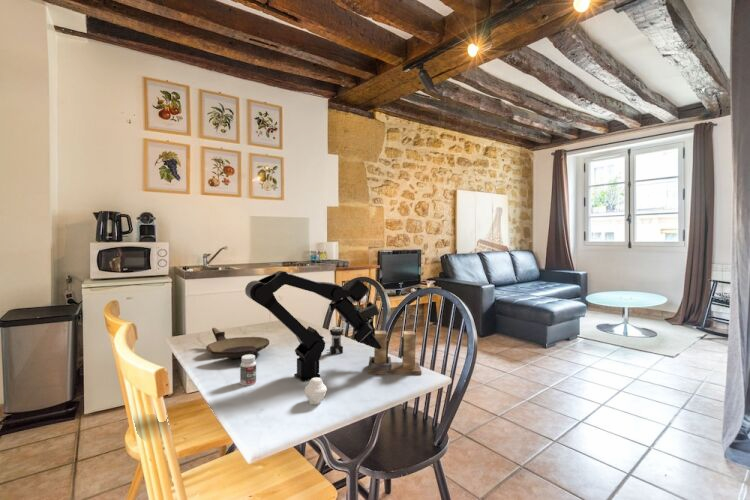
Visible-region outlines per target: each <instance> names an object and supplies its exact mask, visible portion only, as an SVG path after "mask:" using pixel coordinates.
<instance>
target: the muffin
mask: <svg viewBox="0 0 750 500" xmlns="http://www.w3.org/2000/svg"><path fill="white" fill-rule="evenodd" d="M308 381H309V382H308V384H307V385H306V386H305V388H304V393H305V394H304V395H305V396H306V399H307V400H308V402H309V404H311V405H313V406H315V405H320V404H321V403H322V401H323V400H324V398H325V395H326V393H327V391H328V388H327V386H326V384H324V382H323V379H322V378H320V377H318V378H317V377H315V378H312V379H311V380H308Z"/></svg>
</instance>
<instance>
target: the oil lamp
mask: <svg viewBox="0 0 750 500" xmlns="http://www.w3.org/2000/svg"><path fill="white" fill-rule="evenodd" d="M211 328H212V329H211V330H212V333H213V335H214V339H215V340H216V341H214V342H212V343H209V344H208V345H206V351H207V352H210V355H214V356H217V357H221V358H227V359H239V358H242V356H244V355H249V354H251V355H254V354H257V353H258V352H260V351H262V350H264V349H265V348H266V347H268V346H269V345H270V340H269V339H268V337H267V338H265V337H263V336H262V337H261V336H245V337H244V336H243V337H242V336H241V337H240V336H239V337H230V338H226V336H225V335H226V332H225V331H220V330H218V328H216V327H211Z"/></svg>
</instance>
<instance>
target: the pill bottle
mask: <svg viewBox="0 0 750 500" xmlns="http://www.w3.org/2000/svg"><path fill="white" fill-rule="evenodd" d="M239 367H240V368H239V369H240V370H239V371H240V372H239V373H240V376H239V378H240V381H239V383H240V384H241V385H242V386H244V387H245V386H252V385H254V384H256V383H257V362H256V355H254V354H249V355H244V356H242V357H241V363H240V366H239Z"/></svg>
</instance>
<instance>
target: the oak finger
mask: <svg viewBox="0 0 750 500" xmlns="http://www.w3.org/2000/svg"><path fill="white" fill-rule="evenodd" d="M375 338H376V339H377V341H378V342H379V344H380V345H381V349H377V348H374V347H373V348H374V352H373V353H374V355H373V357H374V364H386V358H388V357H389V353H388V352H389V338H388V336H387V331H386V330H376V331H375Z"/></svg>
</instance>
